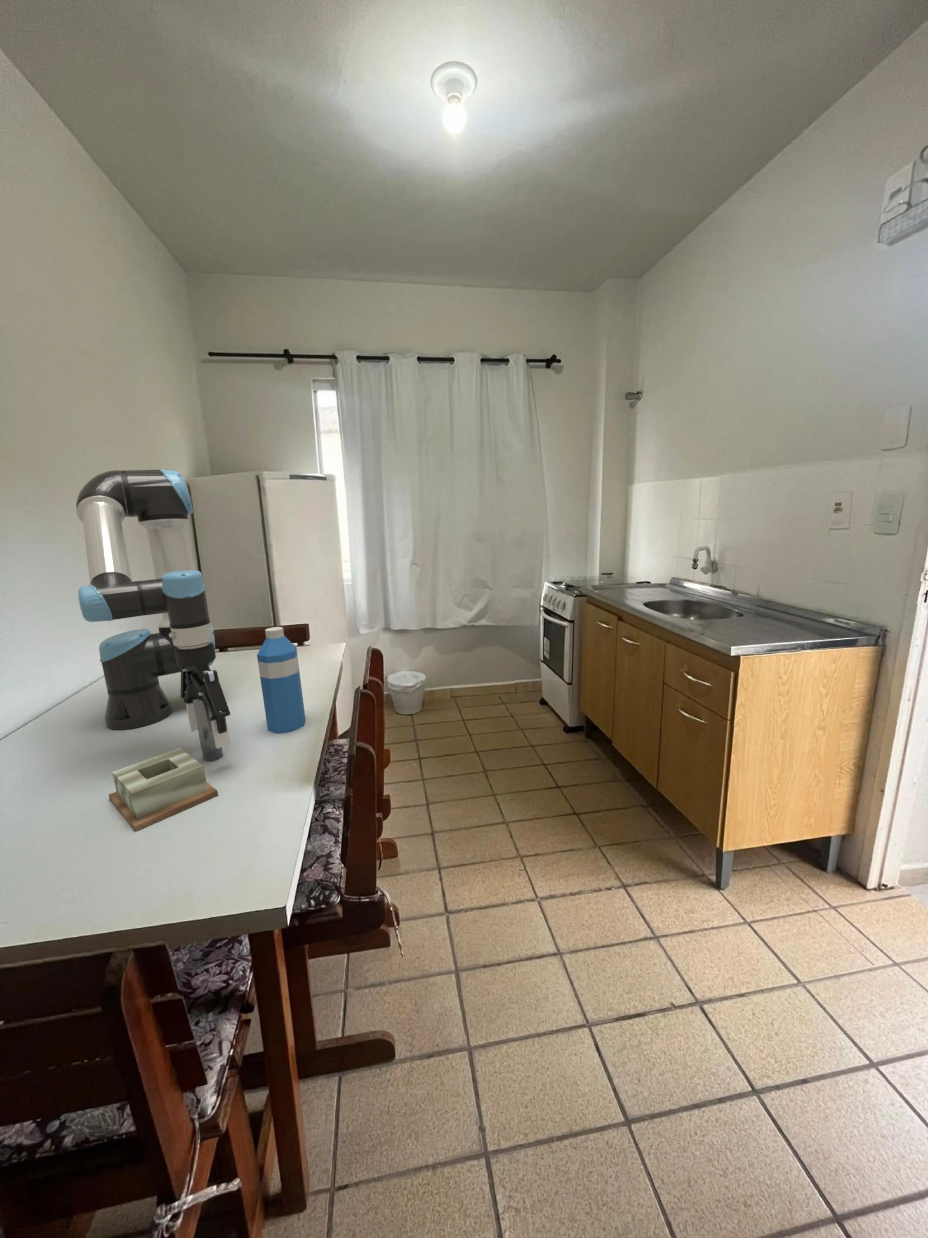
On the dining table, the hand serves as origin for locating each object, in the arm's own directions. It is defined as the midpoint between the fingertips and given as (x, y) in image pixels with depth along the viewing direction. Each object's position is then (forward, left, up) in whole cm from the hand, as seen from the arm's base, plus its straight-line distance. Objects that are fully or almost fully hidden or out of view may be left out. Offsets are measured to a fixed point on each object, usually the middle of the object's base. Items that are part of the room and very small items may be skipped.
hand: (209, 737), depth 112 cm
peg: (0, 0, -5) cm, 5 cm away
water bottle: (-2, +19, -5) cm, 20 cm away
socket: (+9, -13, -5) cm, 16 cm away
